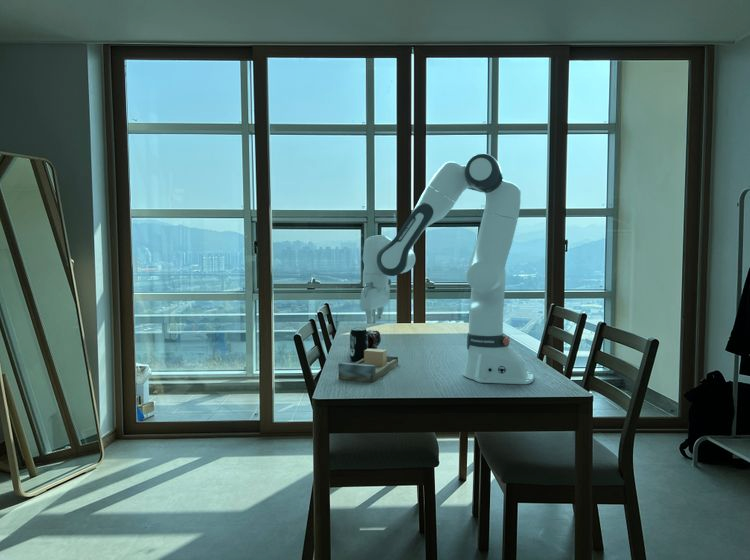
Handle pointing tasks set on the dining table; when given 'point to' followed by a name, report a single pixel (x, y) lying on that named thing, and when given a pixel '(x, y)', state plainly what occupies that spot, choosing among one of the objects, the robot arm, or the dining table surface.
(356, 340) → the beverage can
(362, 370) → the track
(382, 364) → the block
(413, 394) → the dining table surface
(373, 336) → the figurine
